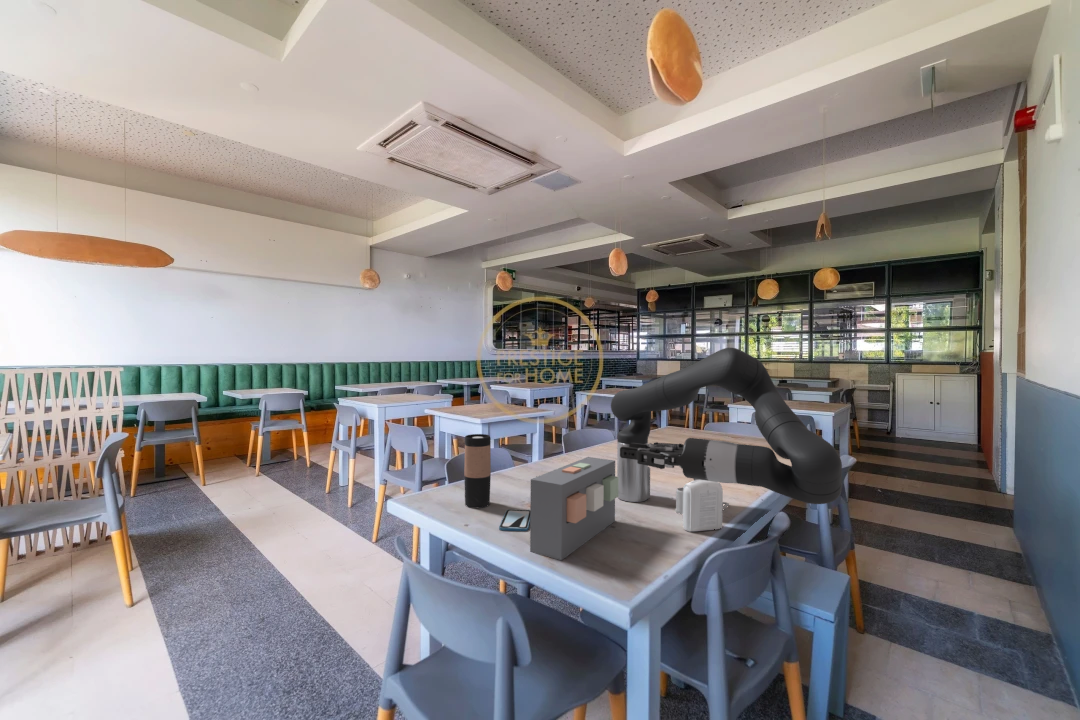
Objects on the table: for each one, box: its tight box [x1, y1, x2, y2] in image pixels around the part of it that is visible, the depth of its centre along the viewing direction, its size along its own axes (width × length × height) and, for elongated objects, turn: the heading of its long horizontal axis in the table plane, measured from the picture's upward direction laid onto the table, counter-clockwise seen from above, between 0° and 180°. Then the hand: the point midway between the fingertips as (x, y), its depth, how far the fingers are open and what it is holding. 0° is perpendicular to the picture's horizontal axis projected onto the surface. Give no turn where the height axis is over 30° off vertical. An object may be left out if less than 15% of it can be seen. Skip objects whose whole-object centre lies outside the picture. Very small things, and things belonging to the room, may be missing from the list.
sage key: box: [602, 475, 619, 501], centre depth 114 cm, size 4×5×5 cm
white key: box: [586, 483, 604, 511], centre depth 107 cm, size 4×5×5 cm
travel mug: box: [463, 433, 492, 508], centre depth 131 cm, size 8×8×20 cm
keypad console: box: [529, 456, 616, 561], centre depth 109 cm, size 8×28×16 cm, turn 147°
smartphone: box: [498, 508, 530, 532], centre depth 119 cm, size 7×1×15 cm
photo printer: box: [682, 480, 724, 533], centre depth 114 cm, size 10×4×12 cm, turn 106°
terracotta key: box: [567, 492, 586, 523], centre depth 99 cm, size 4×5×5 cm
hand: (625, 449), depth 92 cm, fingers open, 4 cm apart
